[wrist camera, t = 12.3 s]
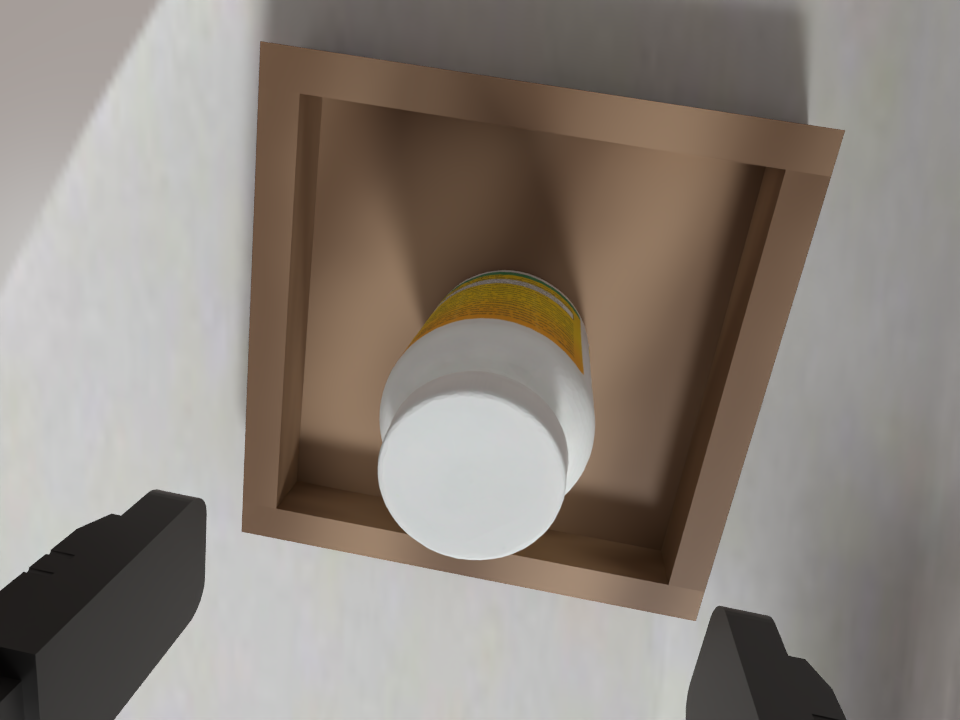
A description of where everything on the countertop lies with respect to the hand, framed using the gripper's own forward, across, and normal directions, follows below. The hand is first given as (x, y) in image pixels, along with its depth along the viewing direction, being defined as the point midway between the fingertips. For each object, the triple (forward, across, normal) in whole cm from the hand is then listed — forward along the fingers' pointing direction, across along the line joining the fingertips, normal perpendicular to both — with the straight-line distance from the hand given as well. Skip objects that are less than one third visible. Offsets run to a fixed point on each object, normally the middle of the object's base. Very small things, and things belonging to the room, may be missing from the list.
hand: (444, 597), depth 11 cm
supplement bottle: (+14, 0, 0) cm, 14 cm away
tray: (+14, 0, 0) cm, 15 cm away
